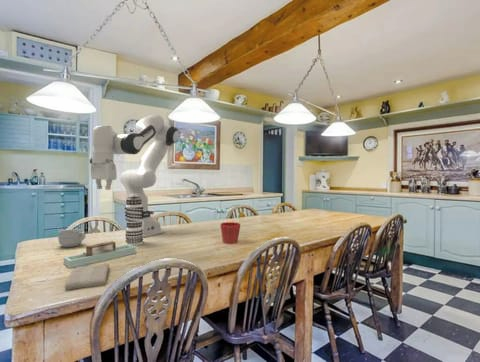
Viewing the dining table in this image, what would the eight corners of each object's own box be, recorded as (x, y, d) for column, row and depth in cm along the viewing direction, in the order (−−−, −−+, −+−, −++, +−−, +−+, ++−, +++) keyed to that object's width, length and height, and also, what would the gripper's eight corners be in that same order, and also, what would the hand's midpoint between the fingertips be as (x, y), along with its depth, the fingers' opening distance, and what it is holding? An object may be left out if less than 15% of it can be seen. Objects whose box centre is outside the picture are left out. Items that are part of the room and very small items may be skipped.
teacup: (53, 247, 137) (53, 231, 137) (75, 242, 147) (75, 227, 146) (70, 250, 130) (70, 234, 130) (92, 245, 140) (91, 229, 140)
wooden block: (112, 252, 125) (112, 241, 124) (115, 253, 123) (115, 242, 122) (86, 257, 116) (86, 246, 116) (89, 259, 114) (89, 247, 114)
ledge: (127, 249, 132) (127, 243, 132) (136, 253, 127) (136, 246, 127) (63, 263, 112) (63, 256, 112) (70, 268, 106) (70, 260, 106)
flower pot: (241, 239, 153) (241, 222, 152) (239, 244, 142) (239, 226, 142) (222, 239, 154) (222, 221, 154) (218, 244, 143) (218, 225, 143)
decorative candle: (131, 246, 137) (130, 196, 137) (121, 243, 143) (120, 195, 142) (147, 243, 145) (146, 195, 144) (137, 240, 150) (136, 194, 150)
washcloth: (109, 269, 107) (109, 261, 107) (106, 286, 91) (106, 277, 90) (74, 273, 103) (74, 265, 102) (64, 292, 86) (64, 282, 86)
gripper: (120, 159, 125) (120, 189, 125) (101, 160, 138) (101, 188, 139) (105, 158, 120) (106, 190, 120) (87, 160, 134) (88, 188, 134)
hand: (103, 189), depth 130 cm, fingers open, 8 cm apart
